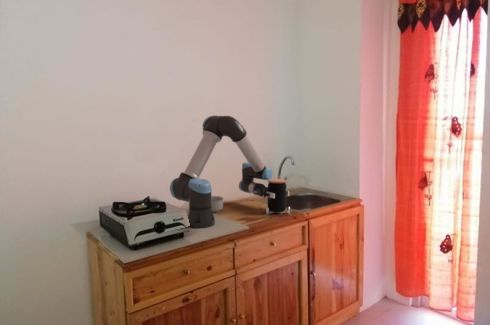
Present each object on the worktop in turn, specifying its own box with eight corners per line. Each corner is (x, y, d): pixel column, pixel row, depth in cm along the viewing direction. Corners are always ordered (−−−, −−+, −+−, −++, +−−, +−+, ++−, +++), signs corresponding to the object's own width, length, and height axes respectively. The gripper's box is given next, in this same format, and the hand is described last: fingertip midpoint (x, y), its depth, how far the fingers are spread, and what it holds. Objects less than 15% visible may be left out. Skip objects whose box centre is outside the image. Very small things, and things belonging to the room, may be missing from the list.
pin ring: (274, 217, 213) (274, 210, 213) (258, 212, 224) (258, 205, 224) (290, 213, 221) (290, 207, 220) (274, 209, 232) (274, 202, 232)
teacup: (224, 209, 233) (224, 196, 232) (221, 213, 222) (221, 200, 221) (202, 208, 234) (202, 195, 233) (198, 212, 223) (198, 199, 222)
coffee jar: (270, 207, 230) (270, 178, 228) (287, 208, 227) (287, 179, 225) (265, 211, 220) (265, 181, 218) (283, 213, 217) (284, 182, 215)
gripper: (271, 192, 244) (295, 198, 227) (242, 197, 230) (266, 203, 213) (271, 181, 243) (295, 186, 226) (242, 185, 229) (266, 190, 212)
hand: (281, 194), depth 219 cm, fingers closed on coffee jar, 11 cm apart
